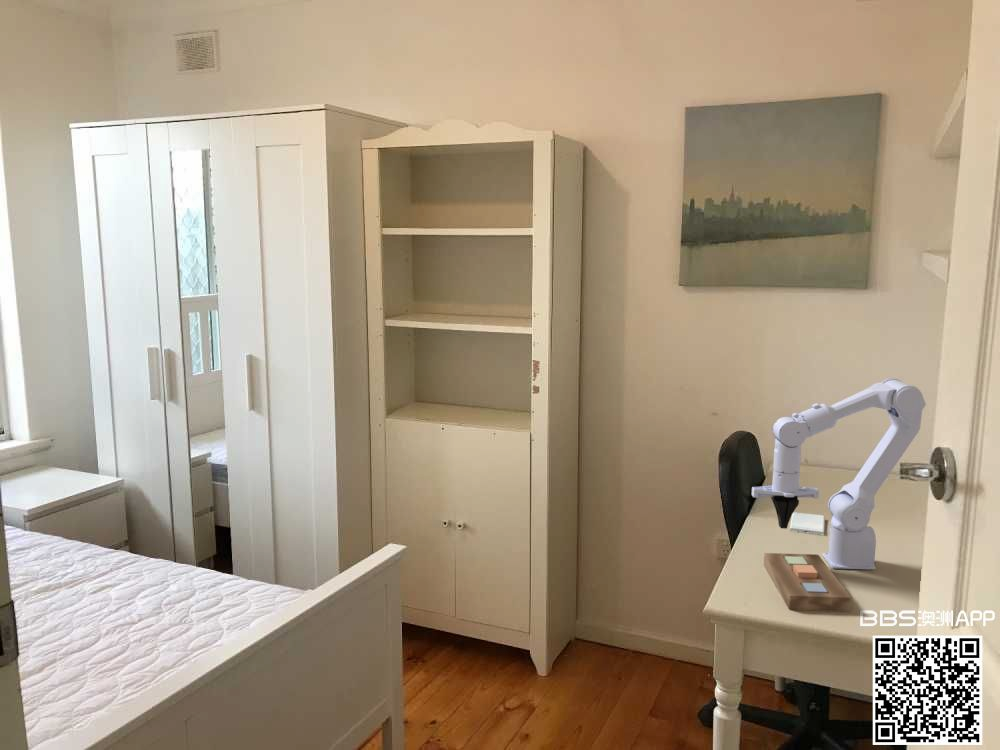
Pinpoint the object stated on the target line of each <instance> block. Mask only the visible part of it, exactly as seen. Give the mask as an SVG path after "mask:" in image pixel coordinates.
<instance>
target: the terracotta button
mask: <svg viewBox="0 0 1000 750" xmlns="http://www.w3.org/2000/svg"><path fill="white" fill-rule="evenodd" d="M793 573H794V574H795V576H796V577H797V578H810V579H817V575H818V573H817V571H816V570H815V568H814V567H813V566H812V565H793Z"/></svg>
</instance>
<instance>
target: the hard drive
mask: <svg viewBox="0 0 1000 750" xmlns="http://www.w3.org/2000/svg"><path fill="white" fill-rule="evenodd" d="M825 518H826V517H825V515H822V514H814V513H813V514H812V513H805V512H804V513H803V512H795V511H794V512H793V514H792V516H791V518H790V527H789V532H791V531H799V532H809V533H814V534H823V535H824V536H825V523H826V522H825ZM799 532H798V533H799ZM814 534H813V535H814Z"/></svg>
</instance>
